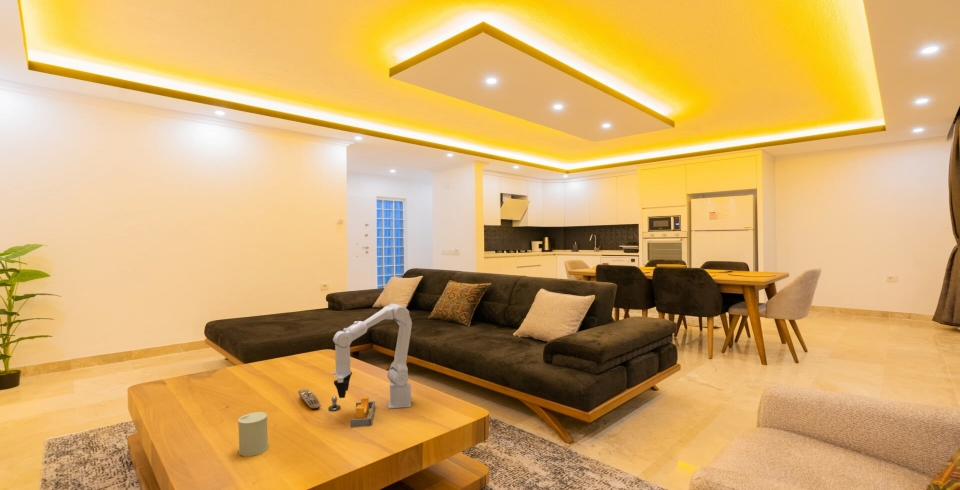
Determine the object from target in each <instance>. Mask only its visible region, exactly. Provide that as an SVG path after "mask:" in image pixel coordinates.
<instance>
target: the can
mask: <svg viewBox="0 0 960 490" xmlns="http://www.w3.org/2000/svg"><path fill="white" fill-rule="evenodd" d="M237 423H238V425H237V426H238V443H239V444H238V446H239V447H238V455H239V456H243V457H253V456H256V455H260V454H262V453H264V452H266V451H267V449H268V448H269V443H268V442H269V441H268V440H269V439H268V414H267V413H266V412H264V411H256V412H249V413H246V414H244V415H241V416H240V417H239V418H238V419H237Z"/></svg>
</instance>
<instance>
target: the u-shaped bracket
mask: <svg viewBox="0 0 960 490" xmlns="http://www.w3.org/2000/svg"><path fill="white" fill-rule="evenodd" d="M358 405H361V401H359V402H356V403H355V408H356V407H357V406H358ZM369 409H370V413H369V417H367V418H365V419H356V418H354V419H350V421H349V422H350V428H354V427H355V428H356V427H367V426H372V424H373V418H374V414H375V409H376V401H369Z"/></svg>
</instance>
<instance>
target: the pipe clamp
mask: <svg viewBox="0 0 960 490" xmlns="http://www.w3.org/2000/svg"><path fill="white" fill-rule="evenodd" d="M360 399H361V401H360V402H361V405H358V406H357V407H356V406H355V411H354V419H365V418H366V417H367V416H368V414H369V411H370V410H369V409H370V408H369V402H370V401H369V399H370V398H369V396H362V397H361V398H360Z"/></svg>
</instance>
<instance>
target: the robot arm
mask: <svg viewBox="0 0 960 490" xmlns="http://www.w3.org/2000/svg"><path fill="white" fill-rule="evenodd" d="M383 320H394V321H395V322H396V324H397V325H398V327H399V328H398V332H397V340H396V346H395V352H394V359H393V361H392V362H391V364H390V367H389V369H388V371H387V376H386V377H387V378H388V380H389V403H388V409H397V408H398V409H399V408H411V407H412V401H413V396H412V383H408V382H409V374H408V372H409V369H408V366H407V361H408V360H407V359H408V358H407V357H408V352H409V346H410V339H411V333H412V325H413V322H412V321H413V320H412V318H411V315H410V310H408V309H407V307H405V306H403V305H400V304H398V303H395V302H391V303H390V304H388V305H385V306H383V308H381V309H380V310H379V311H378V312H375V313H374V314H373V315H370V317H368V318H366V319H365V320H363V321H361V320H357V321H353V324H351V325H349V326H348V327H344V328H343V330H338V331H337V332H336V333H335V335H333V338H332V341H333V343H334V344H335V345H334V346H335V347H334V348H335V349H334V351H335V352H334V353H335V355H334V357H335V371H333V372H332V375H335V376H336V378H337V379H335V380H334V381H333V385H334V386H335V388H336V391H337V395H338V398H339V399H344V398H346V394H347V392H348V391H349V387H350V386H349V385H350V380H351V377H352V375H353V372H352V370H351V348H350V346H351V344H352V342H353V341H355V340H356V339H358V338H360V337H361V336H363V335H364V334H366V333H367V332H368V329H369V328H371V327H373V326H374V325H377V324H379V323H380V322H382V321H383Z"/></svg>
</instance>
